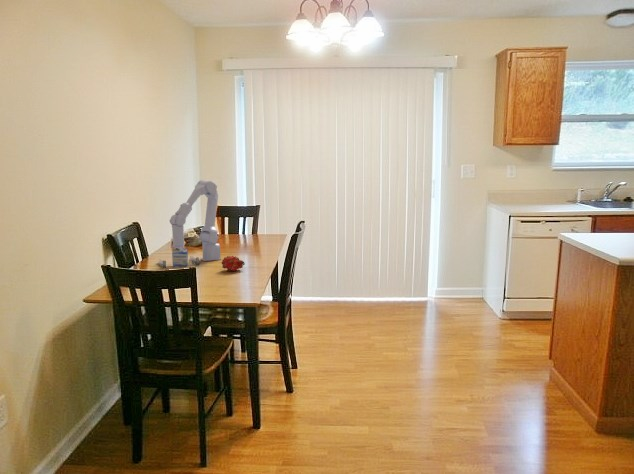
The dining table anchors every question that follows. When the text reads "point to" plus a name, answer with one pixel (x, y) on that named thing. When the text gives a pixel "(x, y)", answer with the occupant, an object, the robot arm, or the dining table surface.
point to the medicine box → (179, 257)
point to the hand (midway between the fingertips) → (179, 262)
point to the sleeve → (195, 261)
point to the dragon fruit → (232, 263)
